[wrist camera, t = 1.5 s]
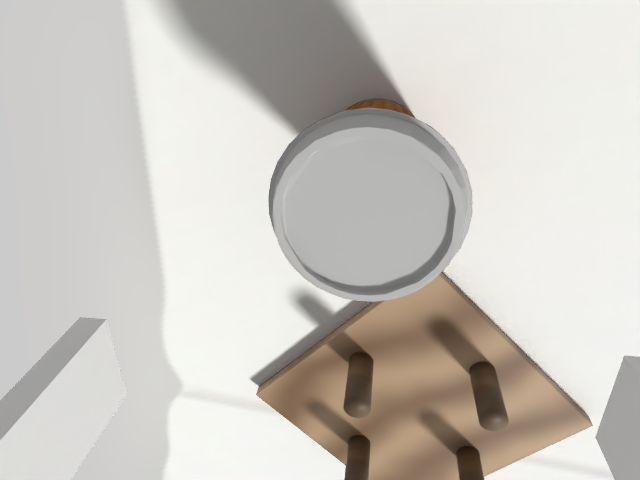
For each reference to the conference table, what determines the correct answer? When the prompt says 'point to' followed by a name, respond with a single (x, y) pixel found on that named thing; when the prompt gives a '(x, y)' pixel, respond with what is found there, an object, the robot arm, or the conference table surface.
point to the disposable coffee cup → (370, 202)
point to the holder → (423, 392)
